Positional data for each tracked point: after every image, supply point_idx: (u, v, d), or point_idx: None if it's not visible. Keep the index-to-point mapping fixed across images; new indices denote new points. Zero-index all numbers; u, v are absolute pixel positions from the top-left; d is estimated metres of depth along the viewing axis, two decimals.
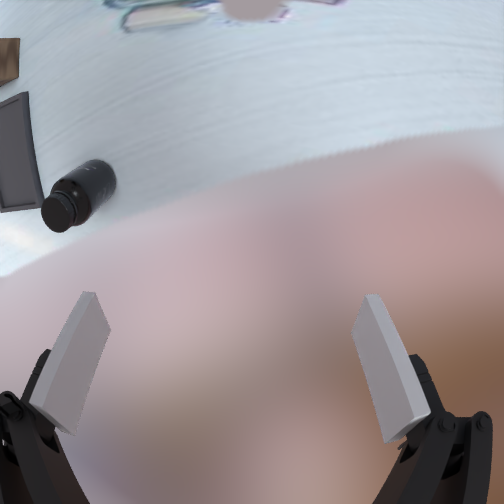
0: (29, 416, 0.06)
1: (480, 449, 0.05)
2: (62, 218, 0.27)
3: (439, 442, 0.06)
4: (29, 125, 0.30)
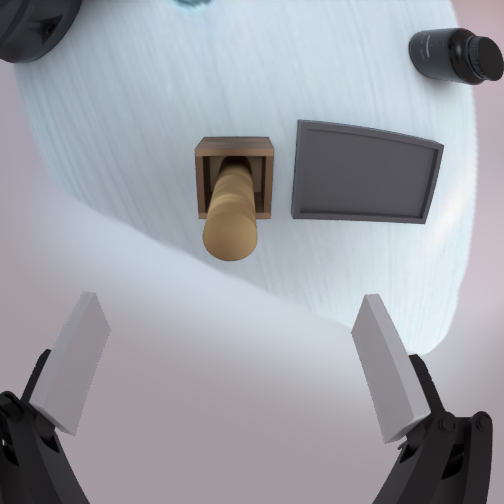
0: (29, 416, 0.06)
1: (480, 449, 0.05)
2: (494, 50, 0.13)
3: (439, 442, 0.06)
4: None
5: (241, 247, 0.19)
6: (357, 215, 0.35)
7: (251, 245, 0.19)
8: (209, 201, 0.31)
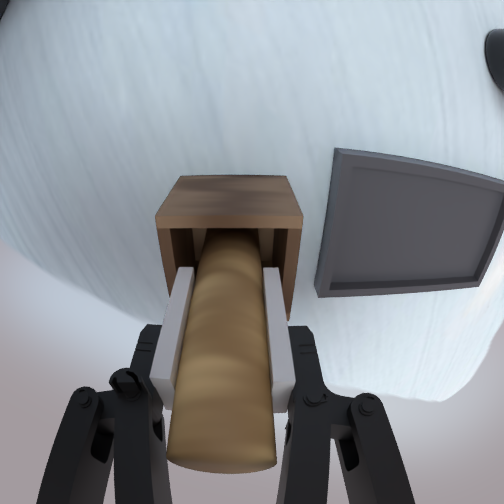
0: (148, 401, 0.08)
1: (375, 436, 0.07)
2: None
3: (311, 418, 0.08)
4: (407, 158, 0.18)
5: (244, 468, 0.08)
6: (405, 286, 0.23)
7: (264, 467, 0.08)
8: None
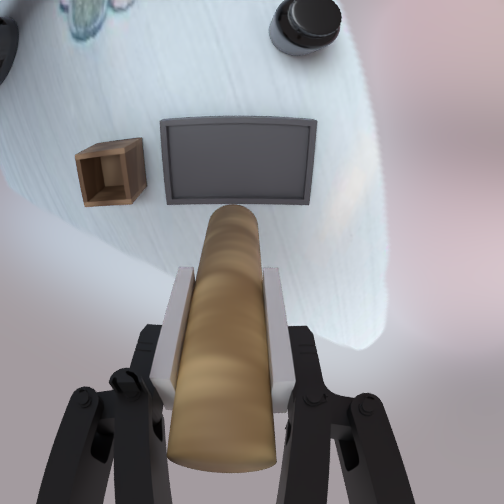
0: (148, 401, 0.08)
1: (375, 436, 0.07)
2: (321, 3, 0.17)
3: (312, 418, 0.08)
4: (206, 116, 0.33)
5: (244, 467, 0.08)
6: (226, 198, 0.38)
7: (264, 466, 0.08)
8: (97, 193, 0.35)
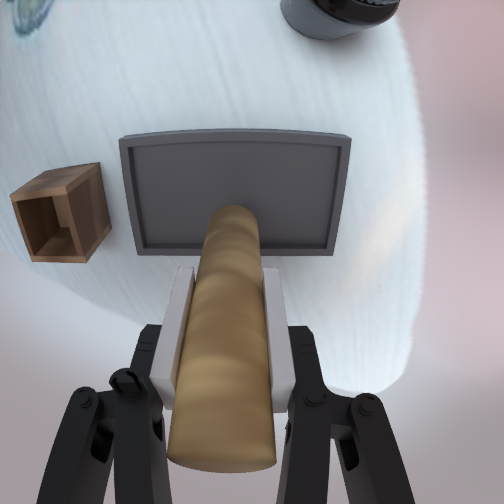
0: (148, 401, 0.08)
1: (375, 436, 0.07)
2: None
3: (312, 418, 0.08)
4: (186, 130, 0.22)
5: (244, 467, 0.08)
6: None
7: (264, 466, 0.08)
8: (48, 240, 0.24)
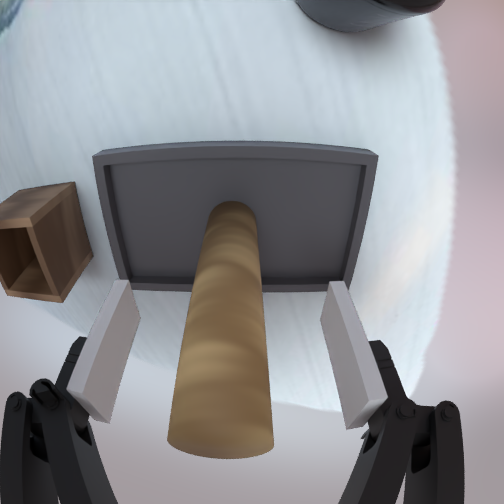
0: (66, 406, 0.07)
1: (448, 440, 0.06)
2: None
3: (399, 430, 0.07)
4: (174, 143, 0.18)
5: (243, 452, 0.08)
6: None
7: (261, 450, 0.08)
8: (24, 270, 0.20)
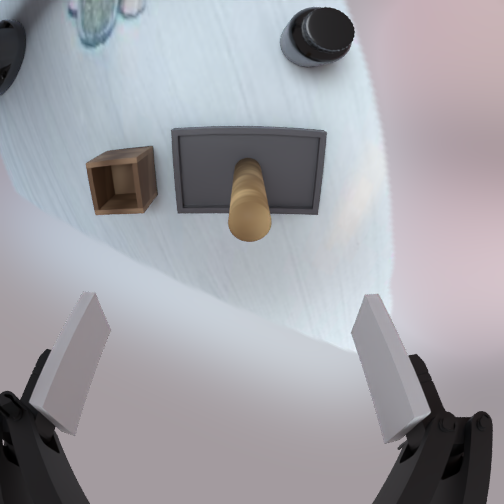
0: (29, 416, 0.06)
1: (480, 449, 0.05)
2: (335, 18, 0.18)
3: (439, 442, 0.06)
4: (217, 126, 0.34)
5: (258, 230, 0.24)
6: None
7: (266, 228, 0.24)
8: (108, 201, 0.36)
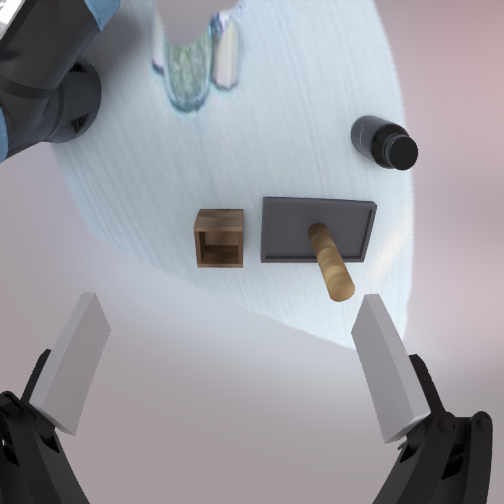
0: (29, 416, 0.06)
1: (480, 449, 0.05)
2: (408, 145, 0.30)
3: (439, 442, 0.06)
4: (298, 198, 0.46)
5: (346, 295, 0.37)
6: (307, 259, 0.52)
7: (351, 294, 0.37)
8: (204, 253, 0.48)
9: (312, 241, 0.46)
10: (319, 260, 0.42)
